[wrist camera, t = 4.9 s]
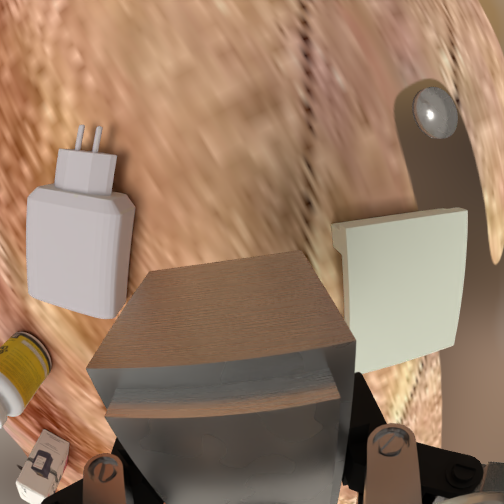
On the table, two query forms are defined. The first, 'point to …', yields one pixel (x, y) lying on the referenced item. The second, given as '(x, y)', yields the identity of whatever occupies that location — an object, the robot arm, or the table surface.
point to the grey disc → (435, 112)
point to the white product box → (43, 468)
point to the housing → (232, 382)
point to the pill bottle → (21, 372)
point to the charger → (80, 234)
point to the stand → (402, 283)
